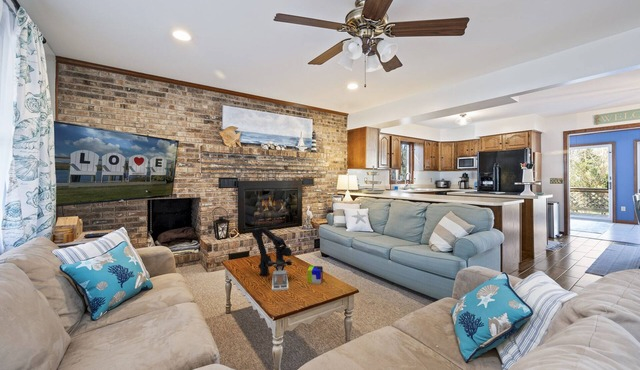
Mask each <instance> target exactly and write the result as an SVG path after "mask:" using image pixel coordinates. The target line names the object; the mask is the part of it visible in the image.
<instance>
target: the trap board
mask: <svg viewBox="0 0 640 370" xmlns="http://www.w3.org/2000/svg"><path fill="white" fill-rule="evenodd" d="M276 291H277V292H278V291H289V278H288V275H287V285H286V284H285V275H284V283H280V284H276V276H275V286H273V275H272V278H271V292H276Z"/></svg>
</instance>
